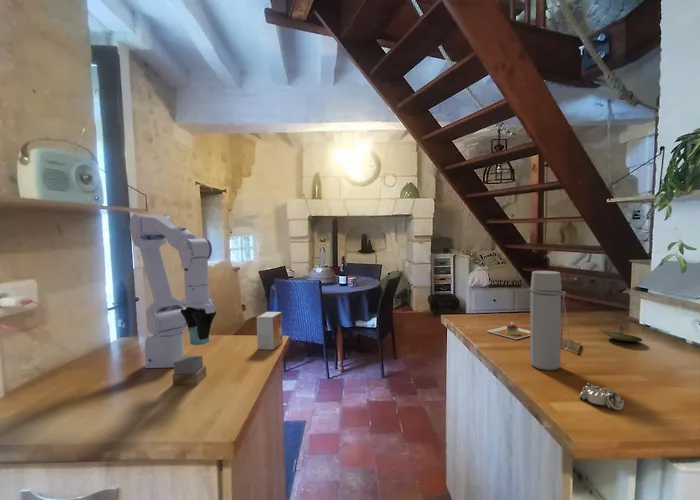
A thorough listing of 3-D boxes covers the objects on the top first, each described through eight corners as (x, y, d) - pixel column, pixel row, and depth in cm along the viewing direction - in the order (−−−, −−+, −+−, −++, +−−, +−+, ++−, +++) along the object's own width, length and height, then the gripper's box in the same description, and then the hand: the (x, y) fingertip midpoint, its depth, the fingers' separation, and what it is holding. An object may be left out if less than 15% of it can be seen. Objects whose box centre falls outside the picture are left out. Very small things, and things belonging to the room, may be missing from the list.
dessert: (516, 342, 124) (516, 327, 123) (486, 333, 134) (486, 320, 134) (539, 336, 130) (539, 322, 129) (508, 328, 140) (508, 315, 140)
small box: (273, 350, 120) (272, 317, 119) (257, 349, 121) (255, 316, 120) (283, 342, 127) (282, 311, 127) (267, 342, 128) (266, 311, 128)
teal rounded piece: (187, 345, 97) (186, 329, 96) (194, 340, 101) (193, 325, 101) (205, 344, 97) (204, 329, 97) (211, 339, 101) (211, 324, 101)
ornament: (630, 406, 78) (631, 388, 78) (615, 415, 75) (615, 397, 74) (589, 392, 85) (589, 376, 85) (573, 400, 81) (573, 384, 81)
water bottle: (531, 370, 98) (531, 273, 97) (528, 360, 106) (528, 270, 104) (571, 374, 95) (572, 274, 94) (566, 363, 102) (566, 270, 101)
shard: (578, 356, 109) (578, 350, 109) (548, 352, 113) (548, 346, 113) (581, 346, 117) (581, 341, 117) (553, 343, 122) (553, 337, 122)
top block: (174, 374, 94) (173, 362, 94) (184, 367, 99) (183, 355, 99) (193, 374, 94) (193, 362, 94) (202, 366, 99) (202, 355, 99)
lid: (596, 341, 121) (596, 326, 121) (608, 335, 127) (608, 320, 127) (636, 349, 112) (636, 332, 112) (647, 342, 118) (647, 326, 118)
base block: (173, 387, 94) (172, 375, 94) (183, 377, 100) (182, 366, 100) (197, 386, 94) (196, 374, 94) (206, 377, 100) (205, 365, 100)
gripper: (225, 285, 96) (227, 338, 97) (199, 280, 106) (201, 329, 107) (197, 289, 91) (200, 345, 92) (173, 283, 101) (176, 334, 102)
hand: (199, 336), depth 99 cm, fingers closed on teal rounded piece, 5 cm apart
